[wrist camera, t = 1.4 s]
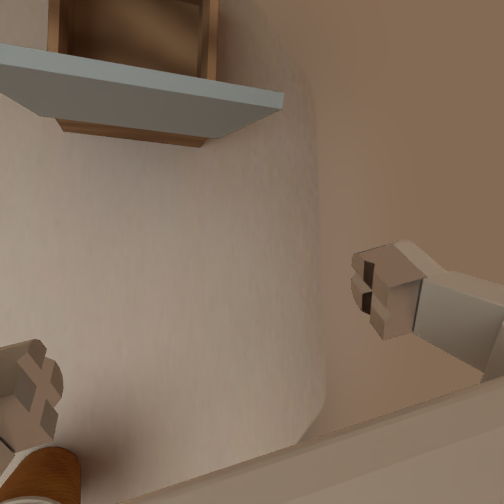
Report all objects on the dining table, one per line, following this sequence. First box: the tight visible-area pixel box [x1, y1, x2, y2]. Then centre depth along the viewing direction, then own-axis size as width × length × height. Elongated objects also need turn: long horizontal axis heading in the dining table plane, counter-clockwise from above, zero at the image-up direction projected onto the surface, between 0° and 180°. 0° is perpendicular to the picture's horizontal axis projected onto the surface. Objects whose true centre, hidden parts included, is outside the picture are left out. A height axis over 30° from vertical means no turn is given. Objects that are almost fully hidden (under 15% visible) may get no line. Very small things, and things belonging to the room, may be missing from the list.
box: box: [47, 0, 219, 147], centre depth 36 cm, size 16×14×8 cm
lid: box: [0, 43, 284, 139], centre depth 25 cm, size 17×15×1 cm
